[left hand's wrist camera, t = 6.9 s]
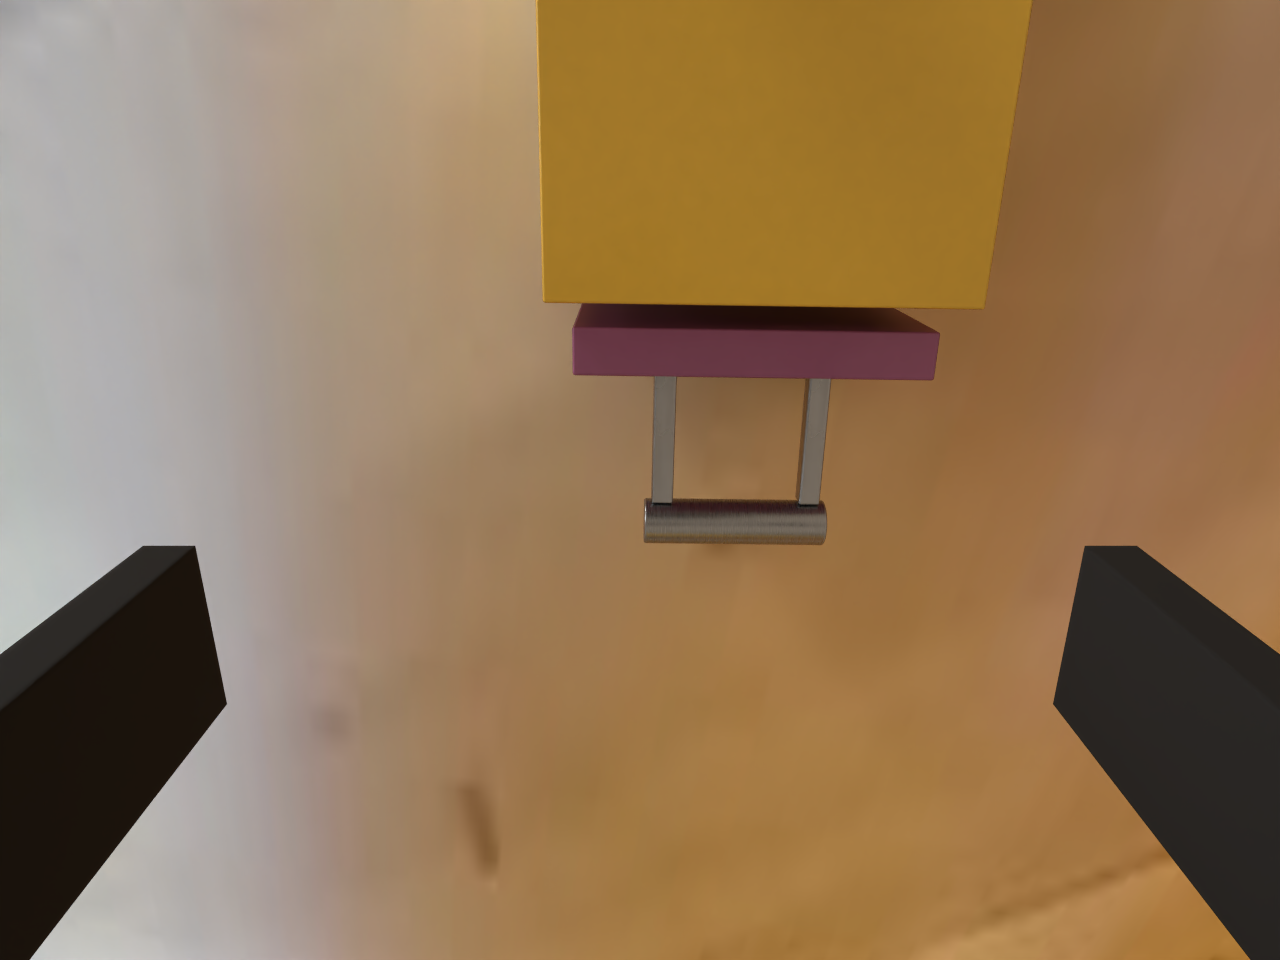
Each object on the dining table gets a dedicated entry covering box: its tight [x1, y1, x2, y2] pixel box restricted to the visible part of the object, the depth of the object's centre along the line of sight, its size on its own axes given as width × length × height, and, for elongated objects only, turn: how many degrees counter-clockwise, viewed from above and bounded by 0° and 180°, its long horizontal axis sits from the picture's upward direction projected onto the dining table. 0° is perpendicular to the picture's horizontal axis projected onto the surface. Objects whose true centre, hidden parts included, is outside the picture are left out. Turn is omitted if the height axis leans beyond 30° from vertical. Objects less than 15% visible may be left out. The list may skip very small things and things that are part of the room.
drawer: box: [572, 303, 940, 545], centre depth 22 cm, size 23×9×6 cm, turn 179°
